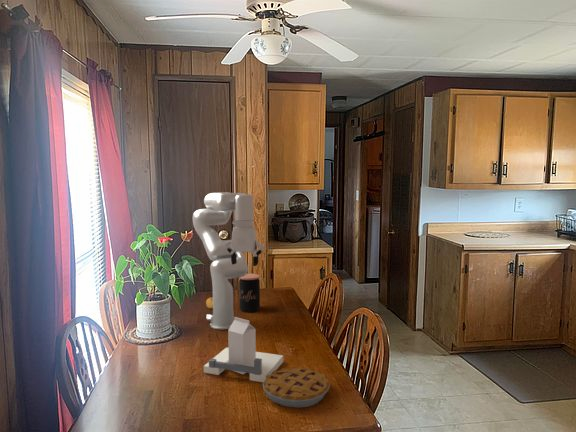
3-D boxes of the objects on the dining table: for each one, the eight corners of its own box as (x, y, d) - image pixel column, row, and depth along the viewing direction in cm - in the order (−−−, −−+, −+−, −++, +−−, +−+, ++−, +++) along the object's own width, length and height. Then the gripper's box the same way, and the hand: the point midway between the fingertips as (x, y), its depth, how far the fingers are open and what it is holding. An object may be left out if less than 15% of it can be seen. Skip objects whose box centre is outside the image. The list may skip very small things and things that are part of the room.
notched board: (203, 372, 163) (203, 365, 162) (226, 353, 179) (226, 347, 179) (265, 382, 155) (265, 375, 155) (283, 361, 172) (283, 355, 172)
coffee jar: (236, 311, 232) (235, 277, 230) (244, 305, 242) (243, 273, 241) (255, 313, 229) (255, 279, 227) (262, 307, 239) (262, 274, 237)
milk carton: (243, 375, 161) (242, 323, 159) (228, 370, 165) (227, 319, 163) (256, 368, 166) (255, 318, 164) (241, 363, 170) (240, 314, 169)
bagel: (209, 311, 234) (209, 302, 233) (203, 305, 244) (203, 296, 243) (227, 308, 238) (227, 300, 238) (221, 303, 248) (221, 295, 247)
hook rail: (208, 367, 161) (208, 353, 161) (211, 364, 163) (211, 351, 163) (259, 375, 155) (259, 361, 155) (261, 372, 157) (261, 358, 156)
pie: (314, 417, 134) (314, 401, 133) (250, 401, 143) (250, 386, 142) (338, 385, 153) (338, 371, 153) (281, 373, 163) (281, 359, 162)
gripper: (221, 224, 186) (222, 265, 188) (260, 226, 181) (260, 268, 182) (229, 222, 193) (230, 261, 195) (267, 223, 188) (267, 264, 189)
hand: (244, 264), depth 189 cm, fingers open, 9 cm apart
